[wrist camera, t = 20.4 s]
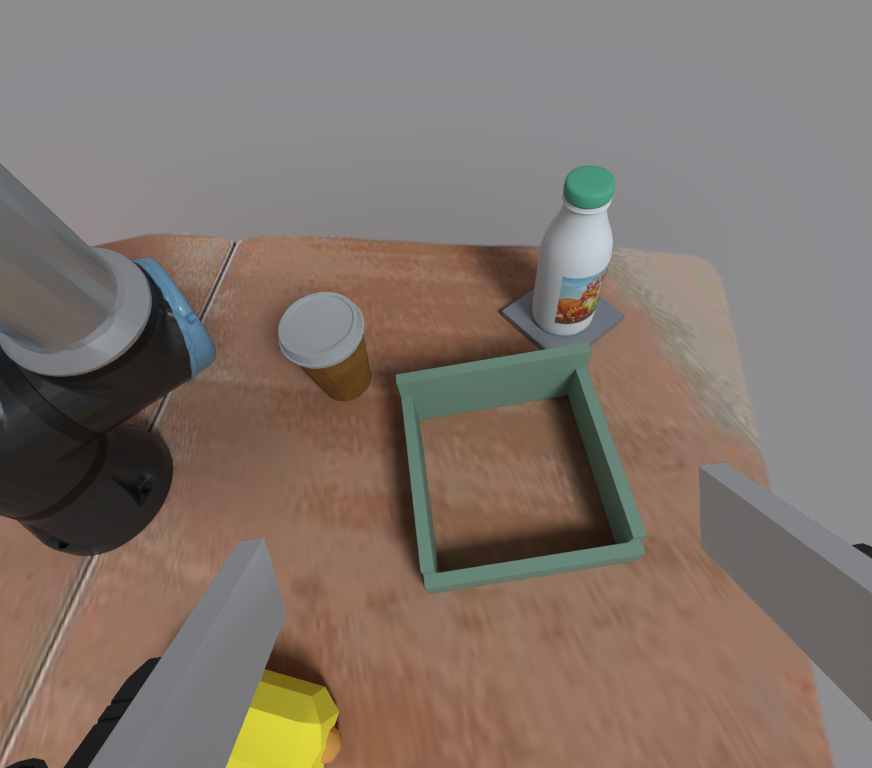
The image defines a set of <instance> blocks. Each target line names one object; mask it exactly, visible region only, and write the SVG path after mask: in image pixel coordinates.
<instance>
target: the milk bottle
mask: <svg viewBox="0 0 872 768" xmlns="http://www.w3.org/2000/svg"><path fill="white" fill-rule="evenodd" d="M614 189H615V178H614V176H613V175H612V173H611V172H609V171H608V170H606V169H604V168H602V167H598V166H582V167H579V168H576V169H574V170H572V171H571V172H570V173H569V174H568V176H567V177H566V180H565V184H564V191H563V196H562V200H563V203H564V204H563V206H562V208H561V210H560V212H559V213H558V214H557V216H556V217H555V218H554V219H553V221H552V222H551V223H550V225H549V226H548V228H547V230H546V232H545V234H544V237H543V240H542V243H541V248H540V253H539V259H538V266H537V273H536V281H535V289H534V297H533V306H532V313H533V317H534V319H535V321H536V323H537V324H538V325H539V327H541V328H542V329H543V330H545V331H546V332H548V333H551V334H553V335H558V336H569V335H574V334H577V333H579V332H581V331H582V330H584V329H585V328H586V327H587V326H588V325H589V324H590V322H591V321H592V318H593V315H594V312H595V309H596V306H597V303H598V300H599V296H600V293H601V290H602V287H603V283H604V280H605V276H606V273H607V270H608V266H609V262H610V258H611V254H612V246H613V243H612V242H613V241H612V239H613V238H612V232H611V228H610V225H609V221H608V217H607V208H608V206H609V205H610V203H611V200H612V199H611V198H612V196H613V193H614Z"/></svg>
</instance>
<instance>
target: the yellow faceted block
mask: <svg viewBox="0 0 872 768" xmlns="http://www.w3.org/2000/svg"><path fill="white" fill-rule="evenodd" d="M338 713H339V711H338V709H337V707H336V705H335V703H334V702H333V700H332V698H331V696H330V694H329V693H328V691H327V689H326V687H325V686H321V685H318V684H314V683H311V682H307V681H304V680H301V679H297V678H294V677H290V676H287V675H283V674H280V673H276V672H273V671H270V670H266V669H264V672H263V674H262V677H261V680H260V682H259V685H258V687H257V690H256V692H255V695H254V697H253V700H252V702H251V705H250V708H249V710H248V713H247V715H246V718H245V720H244V723H243V725H242V728H241V730H240V733H239V735H238V738H237V741H236V743H235V746H234V748H233V751H232V753H231V756H230V758H229V761H228V763H227V766H226V768H323V767H324V764H325V763H332V762H333V760H334V759H335V757H336V756H337V754H338V753H339V751H340V750H341V733H340V732H339V731H338V730H337V729H336V728H335V727H334V726H335V723H336V720H337V717H338Z"/></svg>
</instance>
